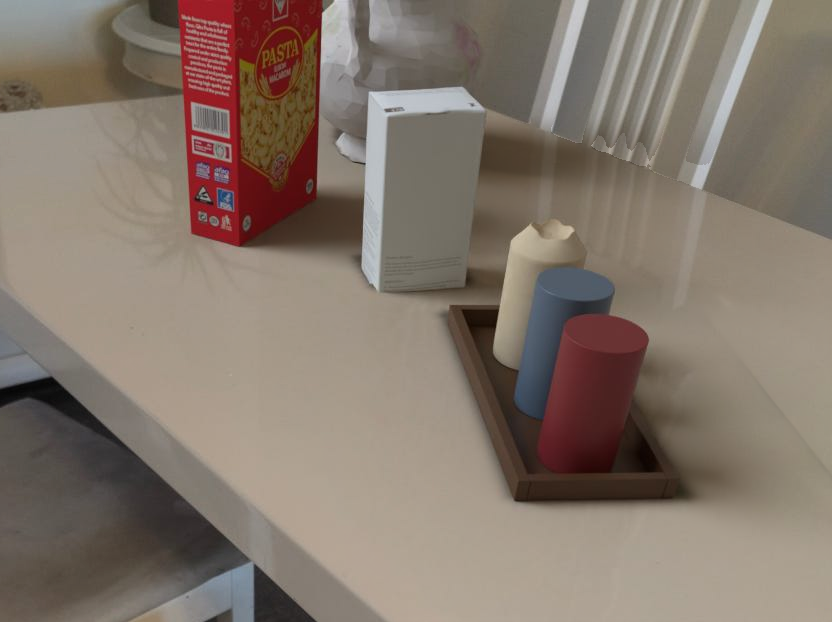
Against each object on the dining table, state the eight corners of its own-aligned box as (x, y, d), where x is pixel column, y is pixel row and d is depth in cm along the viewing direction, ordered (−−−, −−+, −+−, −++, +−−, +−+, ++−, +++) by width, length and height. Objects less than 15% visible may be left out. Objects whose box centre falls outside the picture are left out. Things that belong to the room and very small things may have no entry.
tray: (571, 329, 81) (576, 305, 80) (671, 505, 63) (680, 478, 62) (446, 329, 80) (449, 304, 78) (512, 508, 62) (518, 481, 61)
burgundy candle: (600, 436, 68) (633, 313, 62) (623, 479, 64) (660, 353, 58) (528, 436, 67) (554, 313, 61) (546, 480, 64) (576, 353, 57)
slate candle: (574, 385, 73) (602, 267, 67) (593, 422, 69) (625, 301, 63) (506, 385, 72) (528, 266, 66) (522, 422, 69) (547, 300, 62)
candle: (487, 366, 74) (509, 234, 67) (497, 334, 78) (518, 207, 71) (559, 379, 74) (589, 246, 67) (565, 346, 77) (594, 218, 70)
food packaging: (239, 246, 89) (231, -92, 72) (191, 233, 91) (172, -101, 74) (316, 198, 99) (326, -110, 82) (271, 187, 101) (271, -118, 83)
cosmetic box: (444, 266, 89) (467, 84, 78) (466, 295, 85) (493, 107, 74) (355, 270, 87) (366, 85, 77) (373, 300, 83) (387, 109, 72)
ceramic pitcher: (453, 206, 102) (512, -83, 85) (272, 170, 103) (295, -125, 86) (467, 143, 118) (520, -112, 101) (310, 112, 118) (336, -148, 101)
